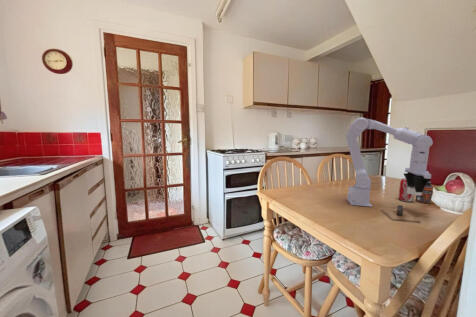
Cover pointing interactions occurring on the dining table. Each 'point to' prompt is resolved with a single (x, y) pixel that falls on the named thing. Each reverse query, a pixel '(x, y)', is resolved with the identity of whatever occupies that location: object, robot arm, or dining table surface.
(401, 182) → the beverage can
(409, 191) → the tube
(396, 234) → the dining table surface
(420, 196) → the supplement bottle
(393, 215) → the shaft stand
